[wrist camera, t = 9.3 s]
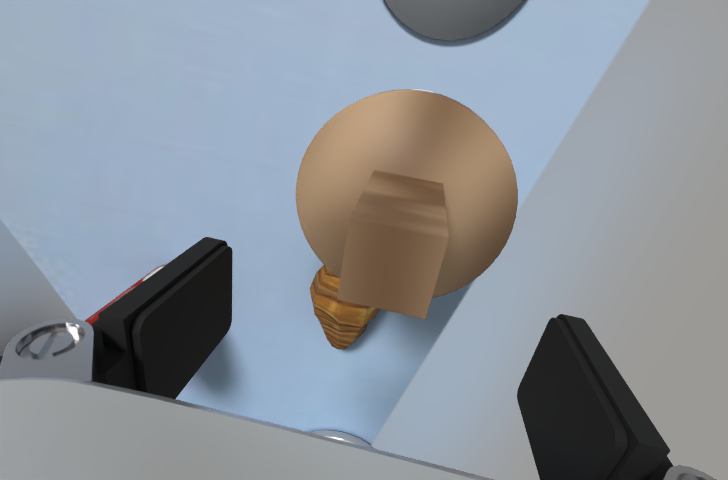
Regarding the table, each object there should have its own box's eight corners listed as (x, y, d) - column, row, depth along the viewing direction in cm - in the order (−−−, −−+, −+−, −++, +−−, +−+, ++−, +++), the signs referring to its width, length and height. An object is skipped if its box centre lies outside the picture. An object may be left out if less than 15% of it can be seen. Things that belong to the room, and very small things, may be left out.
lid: (547, 112, 16) (623, 143, 10) (476, 308, 21) (497, 414, 14) (311, 70, 17) (240, 73, 10) (295, 268, 21) (239, 351, 15)
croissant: (323, 213, 33) (307, 236, 29) (398, 228, 33) (393, 254, 28) (310, 330, 39) (294, 364, 35) (372, 344, 39) (365, 381, 34)
